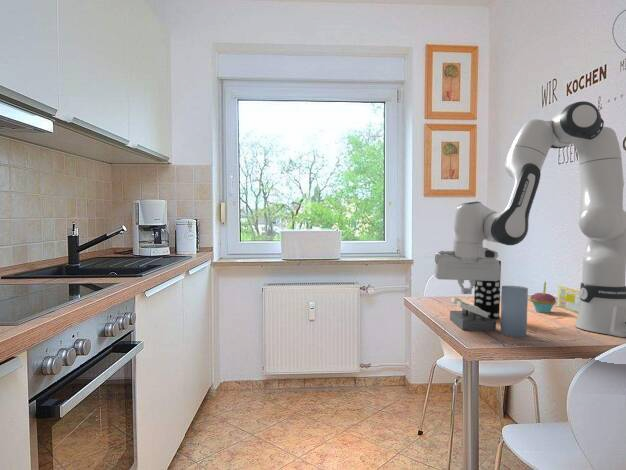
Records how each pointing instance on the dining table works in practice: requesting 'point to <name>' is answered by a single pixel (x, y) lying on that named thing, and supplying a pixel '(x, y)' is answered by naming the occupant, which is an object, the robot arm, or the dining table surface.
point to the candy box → (569, 299)
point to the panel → (472, 321)
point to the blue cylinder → (514, 311)
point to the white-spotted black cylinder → (488, 296)
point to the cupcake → (543, 301)
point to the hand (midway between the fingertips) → (466, 293)
